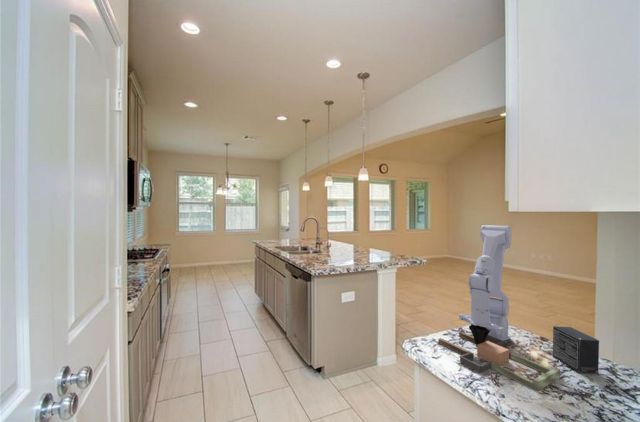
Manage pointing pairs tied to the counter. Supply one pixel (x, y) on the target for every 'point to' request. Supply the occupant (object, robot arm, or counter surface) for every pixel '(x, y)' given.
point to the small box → (576, 349)
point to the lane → (536, 384)
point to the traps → (477, 365)
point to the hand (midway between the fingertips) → (479, 347)
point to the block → (493, 353)
